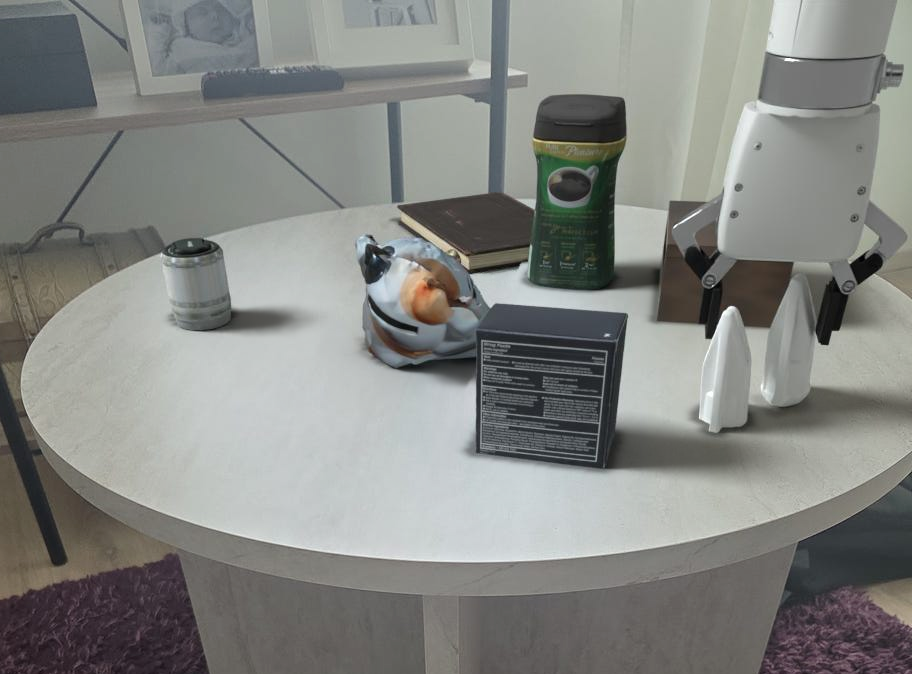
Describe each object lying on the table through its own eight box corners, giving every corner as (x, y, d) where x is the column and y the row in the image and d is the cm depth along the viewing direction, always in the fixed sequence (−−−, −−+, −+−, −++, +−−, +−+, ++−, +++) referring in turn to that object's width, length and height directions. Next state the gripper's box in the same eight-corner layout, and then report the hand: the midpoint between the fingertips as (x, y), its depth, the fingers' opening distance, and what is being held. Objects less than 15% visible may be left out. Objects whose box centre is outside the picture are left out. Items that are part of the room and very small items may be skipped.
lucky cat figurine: (528, 344, 90) (531, 234, 77) (447, 425, 87) (437, 325, 74) (416, 271, 94) (401, 156, 81) (336, 346, 92) (308, 239, 79)
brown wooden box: (767, 280, 103) (783, 204, 98) (778, 333, 91) (797, 249, 86) (659, 274, 105) (669, 200, 100) (655, 326, 93) (667, 244, 88)
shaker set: (787, 387, 81) (816, 258, 74) (823, 405, 78) (857, 272, 71) (680, 419, 77) (700, 286, 70) (714, 439, 74) (738, 302, 67)
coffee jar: (617, 274, 106) (637, 89, 94) (605, 297, 100) (625, 103, 88) (535, 267, 108) (545, 86, 96) (519, 289, 102) (527, 100, 90)
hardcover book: (466, 274, 107) (466, 253, 105) (397, 223, 123) (397, 205, 122) (586, 255, 111) (588, 235, 110) (504, 208, 128) (505, 191, 126)
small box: (616, 437, 75) (632, 309, 68) (605, 475, 70) (620, 341, 63) (491, 422, 77) (494, 297, 71) (472, 458, 72) (473, 328, 66)
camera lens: (228, 306, 100) (215, 231, 95) (238, 326, 95) (226, 248, 90) (170, 315, 98) (154, 238, 93) (178, 335, 94) (162, 256, 89)
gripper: (943, 75, 63) (872, 324, 74) (686, 74, 66) (655, 313, 78) (968, 94, 58) (887, 360, 69) (686, 93, 61) (653, 348, 72)
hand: (764, 334), depth 73 cm, fingers closed on shaker set, 8 cm apart
